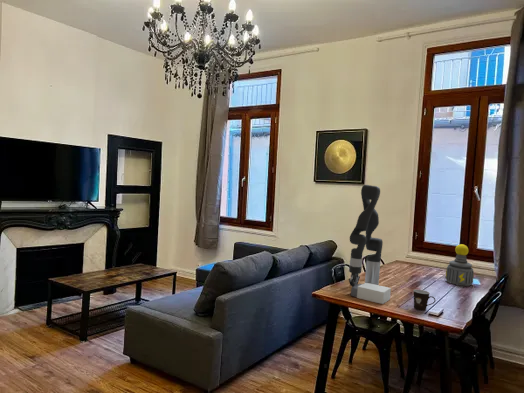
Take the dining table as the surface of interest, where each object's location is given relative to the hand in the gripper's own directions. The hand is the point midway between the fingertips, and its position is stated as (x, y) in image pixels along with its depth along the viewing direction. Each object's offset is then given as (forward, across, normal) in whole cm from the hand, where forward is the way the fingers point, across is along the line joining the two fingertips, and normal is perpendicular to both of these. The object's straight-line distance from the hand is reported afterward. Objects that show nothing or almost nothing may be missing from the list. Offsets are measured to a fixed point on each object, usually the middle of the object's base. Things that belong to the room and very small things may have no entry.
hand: (353, 292), depth 242 cm
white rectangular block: (+1, 0, +13) cm, 13 cm away
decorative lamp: (+1, -96, +47) cm, 107 cm away
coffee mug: (+1, -1, +41) cm, 41 cm away
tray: (+1, 0, +11) cm, 11 cm away
